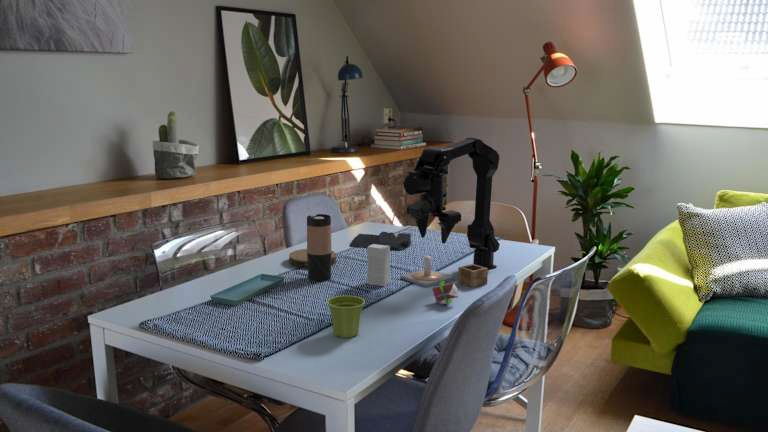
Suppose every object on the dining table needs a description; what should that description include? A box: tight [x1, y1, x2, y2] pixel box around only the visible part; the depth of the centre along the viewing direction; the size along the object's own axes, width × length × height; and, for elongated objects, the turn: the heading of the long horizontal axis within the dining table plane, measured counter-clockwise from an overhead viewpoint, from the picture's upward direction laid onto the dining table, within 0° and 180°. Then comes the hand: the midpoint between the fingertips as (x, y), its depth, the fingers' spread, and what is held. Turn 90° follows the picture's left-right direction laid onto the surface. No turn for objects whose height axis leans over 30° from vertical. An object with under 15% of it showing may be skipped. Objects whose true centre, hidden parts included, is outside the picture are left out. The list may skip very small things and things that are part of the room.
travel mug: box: [306, 213, 333, 283], centre depth 226 cm, size 8×8×20 cm
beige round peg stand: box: [400, 255, 455, 288], centre depth 227 cm, size 12×12×7 cm
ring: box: [457, 263, 489, 289], centre depth 223 cm, size 6×6×5 cm
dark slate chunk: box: [349, 231, 412, 252], centre depth 270 cm, size 15×22×5 cm
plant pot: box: [326, 295, 366, 339], centre depth 181 cm, size 9×9×9 cm
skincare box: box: [366, 244, 391, 287], centre depth 222 cm, size 6×4×12 cm
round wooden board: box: [288, 248, 337, 269], centre depth 246 cm, size 16×16×3 cm
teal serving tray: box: [209, 273, 286, 307], centre depth 214 cm, size 26×9×2 cm, turn 155°
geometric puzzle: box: [432, 279, 459, 306], centre depth 205 cm, size 7×7×8 cm
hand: (433, 240), depth 221 cm, fingers open, 9 cm apart
